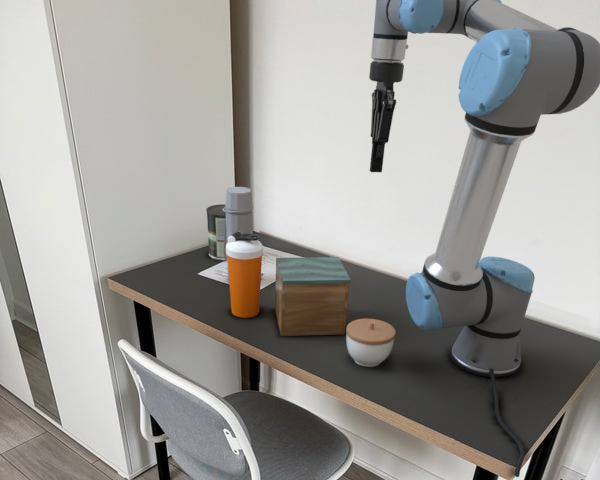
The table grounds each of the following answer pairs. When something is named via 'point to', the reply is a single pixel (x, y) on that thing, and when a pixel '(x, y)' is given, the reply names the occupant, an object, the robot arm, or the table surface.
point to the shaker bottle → (244, 273)
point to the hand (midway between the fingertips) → (375, 171)
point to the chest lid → (312, 270)
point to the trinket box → (369, 341)
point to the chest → (311, 308)
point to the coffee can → (216, 231)
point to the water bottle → (238, 213)
